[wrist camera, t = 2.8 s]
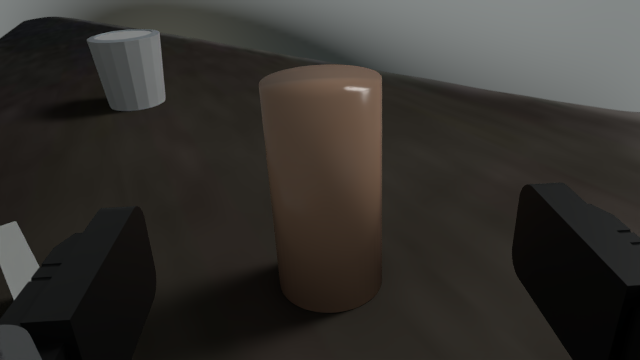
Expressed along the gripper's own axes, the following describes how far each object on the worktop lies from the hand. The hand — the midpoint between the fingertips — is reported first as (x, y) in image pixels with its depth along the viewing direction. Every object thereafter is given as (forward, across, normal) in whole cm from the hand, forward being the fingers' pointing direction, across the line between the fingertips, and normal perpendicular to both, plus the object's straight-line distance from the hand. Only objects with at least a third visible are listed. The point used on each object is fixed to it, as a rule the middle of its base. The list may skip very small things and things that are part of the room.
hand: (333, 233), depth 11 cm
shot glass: (+44, +18, +10) cm, 48 cm away
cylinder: (+12, 0, +10) cm, 15 cm away
